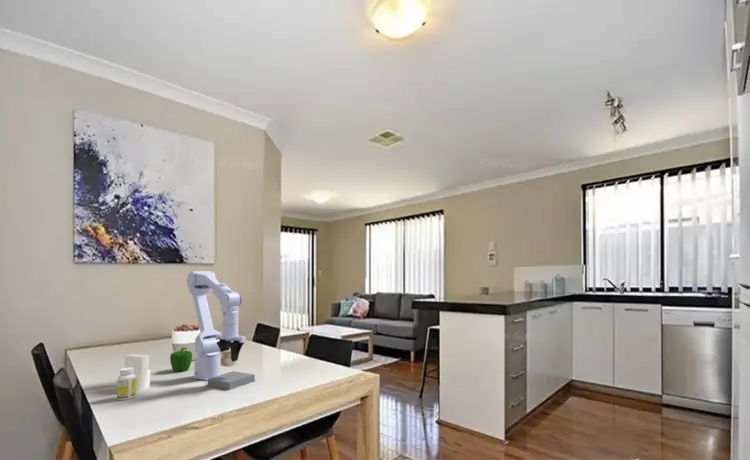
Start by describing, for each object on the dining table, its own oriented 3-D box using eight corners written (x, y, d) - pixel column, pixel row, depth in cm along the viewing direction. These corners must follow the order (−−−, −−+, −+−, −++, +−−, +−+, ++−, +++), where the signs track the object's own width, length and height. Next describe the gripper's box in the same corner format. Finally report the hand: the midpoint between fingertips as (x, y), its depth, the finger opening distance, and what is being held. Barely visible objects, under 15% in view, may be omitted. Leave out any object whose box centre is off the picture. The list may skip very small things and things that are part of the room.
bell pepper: (166, 371, 173) (167, 347, 174) (186, 367, 180) (186, 344, 181) (175, 374, 168) (175, 349, 169) (194, 370, 174) (195, 346, 175)
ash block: (220, 365, 152) (220, 352, 152) (230, 362, 155) (230, 349, 156) (228, 366, 149) (229, 353, 150) (238, 364, 153) (238, 350, 154)
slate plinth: (207, 385, 151) (207, 378, 151) (232, 377, 161) (233, 371, 161) (229, 389, 145) (229, 382, 145) (254, 381, 155) (254, 374, 155)
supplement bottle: (131, 394, 142) (132, 365, 143) (137, 397, 139) (138, 368, 139) (114, 398, 138) (115, 369, 139) (120, 401, 134) (121, 371, 135)
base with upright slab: (115, 390, 146) (116, 357, 147) (137, 383, 155) (138, 352, 156) (133, 393, 143) (134, 358, 144) (155, 385, 152) (156, 353, 153)
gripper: (209, 324, 154) (208, 360, 153) (235, 326, 147) (234, 364, 146) (224, 321, 160) (223, 356, 159) (250, 323, 153) (249, 360, 152)
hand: (230, 360), depth 153 cm, fingers closed on ash block, 4 cm apart
